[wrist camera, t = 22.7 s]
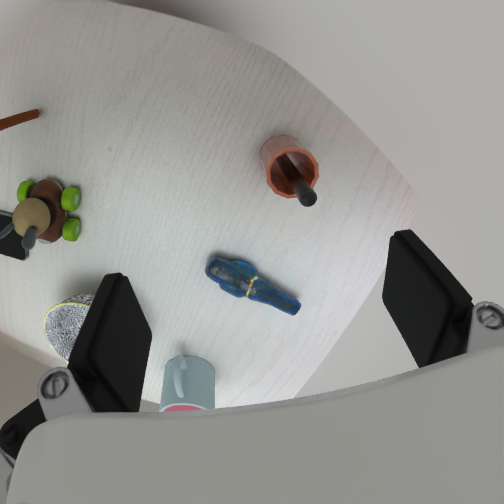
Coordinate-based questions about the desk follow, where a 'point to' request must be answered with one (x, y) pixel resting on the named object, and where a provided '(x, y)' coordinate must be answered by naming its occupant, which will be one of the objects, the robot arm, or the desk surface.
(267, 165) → the pen pot
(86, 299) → the bowl
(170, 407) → the mug
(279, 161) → the stylus
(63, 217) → the toy car
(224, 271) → the figurine
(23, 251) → the smartphone
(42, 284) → the desk surface
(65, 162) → the desk surface
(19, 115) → the magnifying glass
